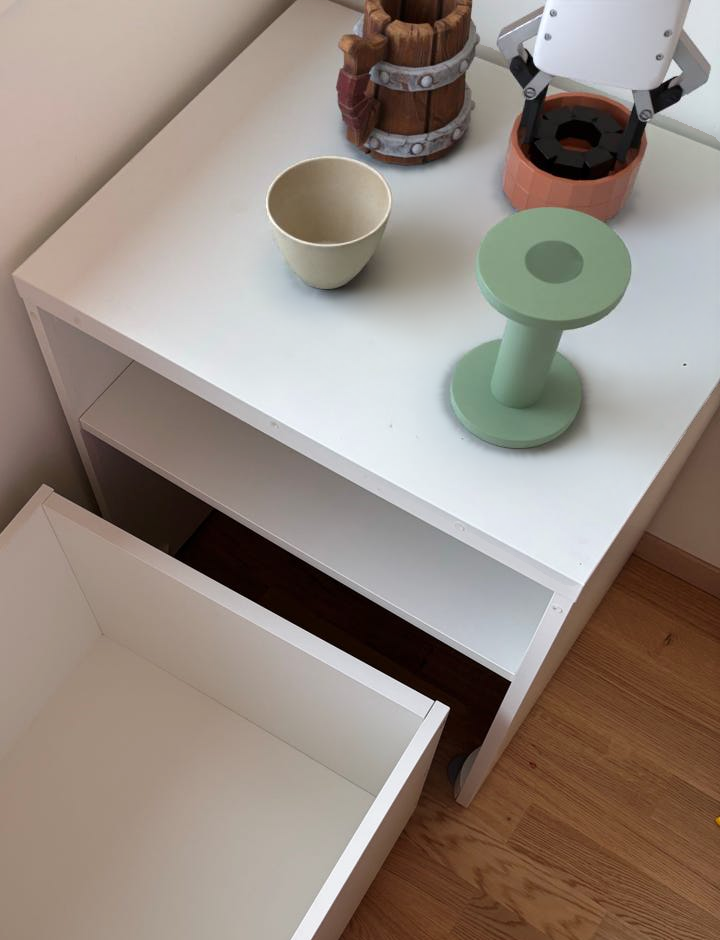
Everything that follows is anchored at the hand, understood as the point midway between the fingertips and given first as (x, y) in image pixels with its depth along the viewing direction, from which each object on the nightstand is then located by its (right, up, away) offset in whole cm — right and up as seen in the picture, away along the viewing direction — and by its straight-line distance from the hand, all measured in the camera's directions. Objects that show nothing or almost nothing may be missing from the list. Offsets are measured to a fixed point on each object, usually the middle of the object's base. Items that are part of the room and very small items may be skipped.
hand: (576, 141), depth 83 cm
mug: (-14, +4, +8) cm, 17 cm away
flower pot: (-21, -10, +2) cm, 23 cm away
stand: (-7, -23, -5) cm, 24 cm away
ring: (0, 0, +1) cm, 1 cm away
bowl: (0, -2, +4) cm, 5 cm away
